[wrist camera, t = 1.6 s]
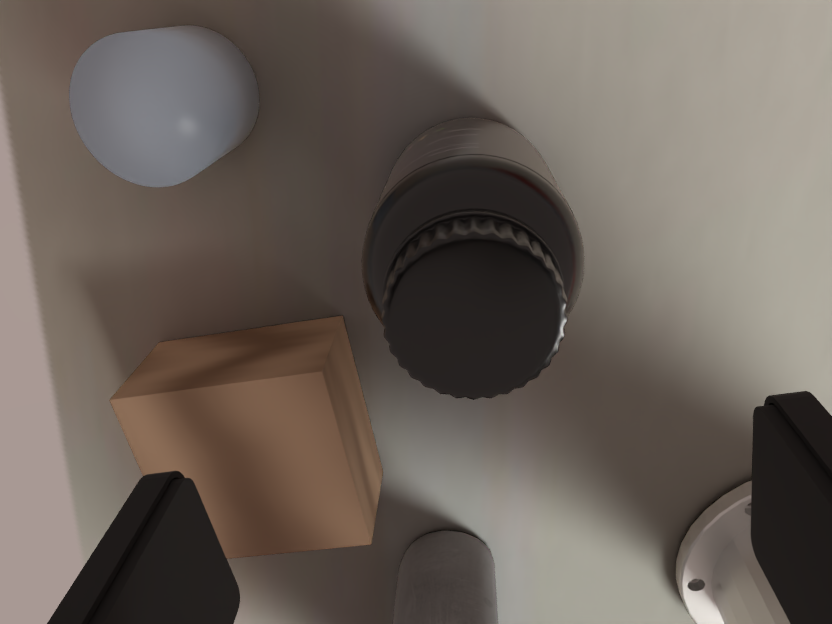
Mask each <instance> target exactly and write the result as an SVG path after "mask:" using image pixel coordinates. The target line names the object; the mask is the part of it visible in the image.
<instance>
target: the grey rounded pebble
mask: <svg viewBox="0 0 832 624" xmlns="http://www.w3.org/2000/svg"><path fill="white" fill-rule="evenodd" d="M69 100H70V109H71V114H72V118H73V121H74V124H75V127H76V129H77V131H78V134H79V136H80V138H81V139H82V141H83V143H84V144H85V146H86V147H87V149H88V150H89V151H90V153H91V154H92V155H93V156H94V157H95V158H96V159H97V160H98V161H99V162H100V163H101V164H102V165H103V166H104V167H105V168H106V169H108V170H109V171H111V172H112V173H114V174H115V175H117V176H119V177H120V178H122V179H124V180H127V181H129V182H132V183H134V184H138V185H142V186H148V187H168V186H173V185H177V184H180V183H182V182H185V181H187V180H188V179H190V178H192V177H193V176H195V175H196V174H198V173H199V172H201V171H202V170H204V169H205V168H207V167H208V166H210V165H211V164H212V163H214V162H215V161H217V160H218V159H220V158H221V157H223V156H224V155H226V154H227V153H229V152H230V151H231V150H233V149H234V148H236V147H237V146H239V145H240V144H241V143H242V142H243V141H244V140H245V139H246V138H247V137H248V135H249V134H250V132H251V131H252V129H253V127H254V125H255V123H256V119H257V116H258V111H259V89H258V84H257V80H256V77H255V74H254V72H253V70H252V68H251V66H250V64H249V62H248V61H247V59H246V57H245V56H244V55H243V53H242V52H241V51H240V50H239V49H238V48H237V47H236V46H235V45H234V44H233V43H232V42H231V41H230V40H228V39H227V38H226V37H224V36H222V35H221V34H219V33H217V32H215V31H213V30H211V29H208V28H204V27H200V26H194V25H182V26H173V27H165V28H156V29H147V30H138V31H129V32H121V33H115V34H112V35H108V36H106V37H104V38H102V39H100V40H98V41H96V42H95V43H94V44H92V45H91V46H90V47H89V48H88V49H87V50H86V51H85V52H84V53H83V54H82V56H81V57H80V58H79V60H78V62H77V64H76V66H75V68H74V71H73V74H72V77H71V82H70V90H69Z"/></svg>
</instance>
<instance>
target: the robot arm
mask: <svg viewBox="0 0 832 624" xmlns="http://www.w3.org/2000/svg"><path fill="white" fill-rule="evenodd" d="M676 581H677V585H678V589H679V593H680V595H681V598H682V600H683V603H684V605H685V608H686V610H687V612H688V614H689V615H690V617H691V618H692V619H693V621H694V622H695V623H696V624H832V416H831V415H830V414H829V413H828V411H827V410H826V409H825V408H824V407H823V406H822V405H821V403H820V402H819V401H818V400H817V399H816V398H815V397H814V396H813V395H812V394H811V393H810V392H807V391H803V392H795V393H787V394H779V395H771V396H768V397H767V398H766V400H765V404H764V406H759V407H756V408H755V410H754V414H753V452H752V480H751V481H749V482H746V483H744V484H742V485H740V486H739V487H737V488H735V489H734V490H732V491H730V492H728V493H727V494H725V495H723V496H722V497H721V498H719V499H718V500H717V501H716V502H714V503H713V504H712V505H711V506H710V507H708V508H707V509H706V510H705V511H704V512H703V513H702V514H701V515H700V516H699V518H698V519H697V520H696V521H695V522H694V523H693V525H692V526H691V527H690V529H689V531H688V532H687V534H686V536H685V538H684V539H683V541H682V543H681V546H680V549H679V553H678V556H677V559H676ZM239 603H240V593H239V588H238V585H237V582H236V580H235V578H234V575H233V573H232V571H231V568H230V566H229V564H228V561H227V559H226V556H225V554H224V552H223V549H222V547H221V545H220V542H219V540H218V538H217V535H216V533H215V530H214V528H213V526H212V523H211V521H210V519H209V516H208V514H207V512H206V509H205V507H204V504H203V502H202V500H201V497H200V495H199V493H198V490H197V488H196V486H195V483H194V482H193V480H192V479H191V478H185V477H184V475H183V474H182V473H181V472H180V471H170V472H162V473H154V474H147V475H145V476H143V477H142V478H141V479H140V480H139V482H138V484H137V485H136V487H135V488H134V490H133V491H132V493H131V494H130V496H129V498H128V499H127V501H126V502H125V504H124V505H123V507H122V508H121V510H120V511H119V513H118V515H117V516H116V518H115V519H114V521H113V522H112V524H111V525H110V527H109V529H108V530H107V532H106V533H105V535H104V536H103V538H102V539H101V541H100V542H99V544H98V546H97V547H96V549H95V550H94V552H93V553H92V555H91V556H90V558H89V560H88V561H87V563H86V564H85V566H84V567H83V569H82V570H81V572H80V573H79V575H78V577H77V578H76V580H75V581H74V583H73V584H72V586H71V587H70V589H69V591H68V592H67V594H66V595H65V597H64V598H63V600H62V601H61V603H60V604H59V606H58V608H57V609H56V611H55V612H54V614H53V615H52V617H51V619H50V620H49V622H48V623H47V624H233V623H234V620H235V617H236V615H237V612H238V608H239Z"/></svg>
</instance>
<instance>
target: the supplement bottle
mask: <svg viewBox="0 0 832 624" xmlns="http://www.w3.org/2000/svg"><path fill="white" fill-rule="evenodd" d="M583 274H584V248H583V242H582V237H581V234H580V231H579V227H578V224H577V222H576V219H575V217H574V215H573V212H572V210H571V209H570V207H569V205H568V203H567V201H566V199H565V198H564V196H563V194H562V192H561V190H560V188H559V187H558V185H557V183H556V181H555V179H554V178H553V176H552V174H551V172H550V170H549V168H548V167H547V165H546V163H545V161H544V160H543V158H542V157H541V155H540V154H539V152H538V151H537V150H536V148H535V147H534V146H533V145H532V144H531V143H530V142H529V141H528V140H527V139H526V138H525V137H524V136H522V135H521V134H520V133H518V132H517V131H515V130H514V129H512V128H510V127H508V126H506V125H504V124H502V123H499V122H496V121H492V120H488V119H482V118H459V119H454V120H450V121H446V122H443V123H440V124H438V125H435V126H434V127H432V128H430V129H428V130H426V131H425V132H423V133H422V134H420V135H419V136H418V137H417V138H415V139H414V140H413V141H412V142H411V143H410V144H409V145H408V146H407V147H406V149H405V150H404V151H403V152H402V154H401V155H400V157H399V158H398V160H397V162H396V164H395V165H394V167H393V169H392V171H391V173H390V176H389V178H388V181H387V183H386V185H385V188H384V190H383V192H382V195H381V197H380V199H379V202H378V204H377V206H376V209H375V211H374V214H373V216H372V218H371V221H370V223H369V226H368V229H367V232H366V236H365V240H364V246H363V251H362V275H363V282H364V286H365V291H366V294H367V297H368V300H369V302H370V304H371V306H372V309H373V311H374V312H375V314H376V316H377V318H378V319H379V320H380V322H381V323H382V325H383V326H384V327H385V329H384V337H385V338H386V340H387V341H388V342H389V344H390V345H389V347H390V352H391V353H392V354H393V355H394V356H395V357H397V359H398V363H399V365H400V366H401V367H403V368H404V369H406V370H407V371H408V373H409V375H410V376H411V377H412V378H414V379H417V380H419V381H420V382H421V383H422V384H423V385H424V386H425V387H428V388H433V389H435V390H436V391H437V392H438V393H440V394H450V395H452V396H453V397H455V398H462V397H467V398H470V399H473V400H474V399H478V398H481V397H486V398H492V397H495V396H496V395H498V394H508V393H510V392H511V391H512V390H514V389H516V388H521V387H524V386H525V385H526V384H527V382H528V381H529V380H532V379H535V378H537V377H538V375H539V374H540V372H541V370H543V369H544V368H546V367H548V366H549V365H550V362H551V358H552V357H553V356H554V355H555V354H556V353H557V352H558V351H559V343H560V341H561V340H562V339H563V338H564V336H565V329H564V326H565V324H566V322H567V320H568V316H569V314H570V312H571V311H572V309H573V307H574V305H575V302H576V300H577V298H578V295H579V292H580V289H581V284H582V280H583Z"/></svg>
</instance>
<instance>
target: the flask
mask: <svg viewBox="0 0 832 624" xmlns="http://www.w3.org/2000/svg"><path fill="white" fill-rule="evenodd" d="M393 624H498V613H497V596H496V579H495V563H494V560H493V557H492V554H491V551H490V549H489V548H488V547H487V546H486V545H485V544H484V543H482V542H481V541H480V540H479V539H478V538H475V537H473V536H470V535H468V534H466V533H463V532H455V531H445V530H444V531H439V532H434V533H429V534H426V535H424V536H422V537H421V538H419V539H417V540H416V541H414V542H413V543H412V544H411V545H410V547H409V548H408V549H407V551H406V552H405V553H404V556H403V558H402V561H401V564H400V566H399V572H398V580H397V588H396V597H395V607H394V616H393Z"/></svg>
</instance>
